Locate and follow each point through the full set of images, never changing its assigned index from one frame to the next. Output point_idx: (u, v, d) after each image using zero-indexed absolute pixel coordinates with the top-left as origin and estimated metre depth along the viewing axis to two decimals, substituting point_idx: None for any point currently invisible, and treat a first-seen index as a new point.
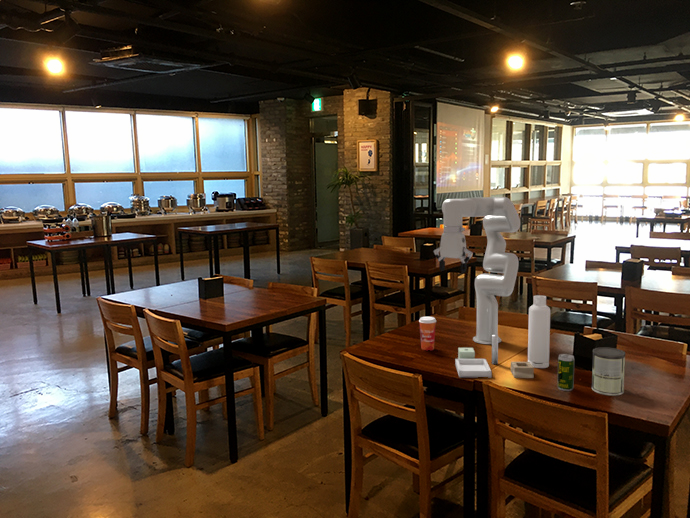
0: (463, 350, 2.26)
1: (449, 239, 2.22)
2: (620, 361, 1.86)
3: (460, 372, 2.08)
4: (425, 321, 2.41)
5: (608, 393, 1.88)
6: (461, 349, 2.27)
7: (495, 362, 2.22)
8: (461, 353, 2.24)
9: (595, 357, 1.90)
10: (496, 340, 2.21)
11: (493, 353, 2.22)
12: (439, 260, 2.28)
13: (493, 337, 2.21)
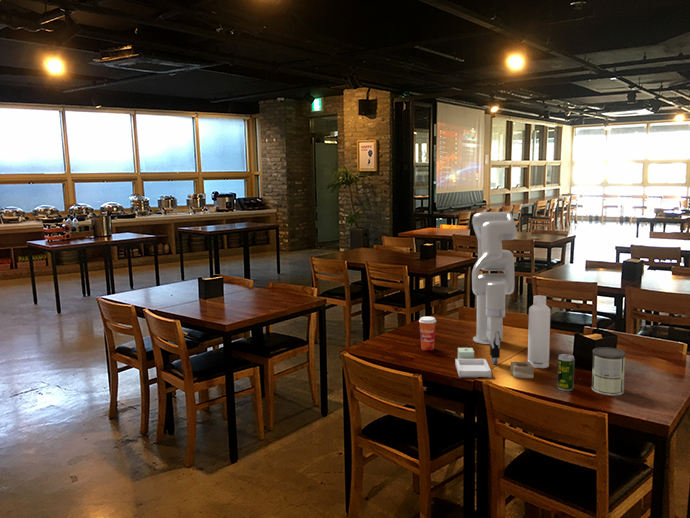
0: (462, 350, 2.26)
1: None
2: (620, 361, 1.86)
3: (460, 372, 2.08)
4: (425, 321, 2.41)
5: (608, 393, 1.88)
6: (461, 349, 2.27)
7: (495, 362, 2.22)
8: (461, 353, 2.24)
9: (595, 357, 1.90)
10: None
11: None
12: None
13: None
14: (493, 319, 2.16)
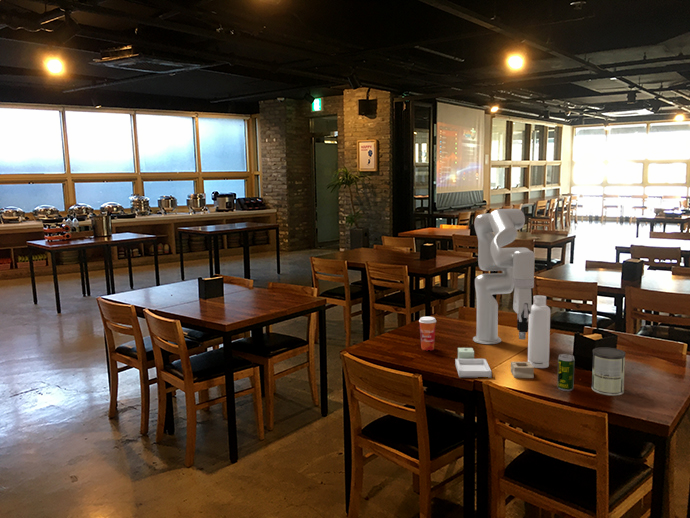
0: (462, 350, 2.26)
1: None
2: (620, 361, 1.86)
3: (460, 372, 2.08)
4: (425, 321, 2.41)
5: (608, 393, 1.88)
6: (461, 349, 2.27)
7: (523, 337, 2.07)
8: (460, 353, 2.24)
9: (595, 357, 1.90)
10: None
11: None
12: None
13: None
14: (521, 290, 2.01)
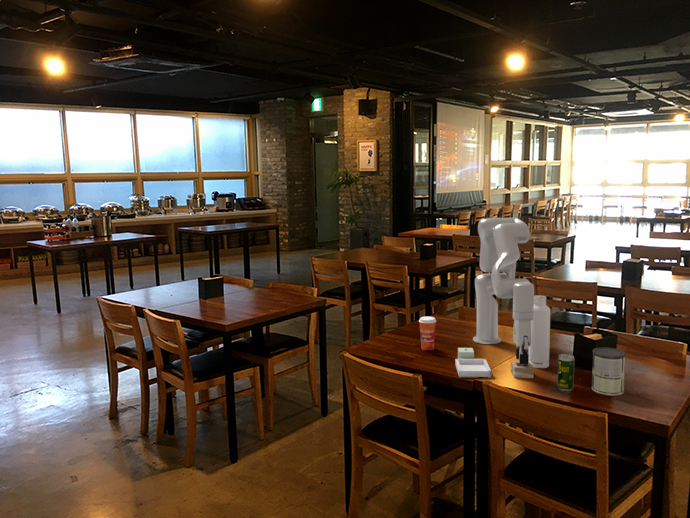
0: (462, 350, 2.26)
1: None
2: (620, 361, 1.86)
3: (460, 372, 2.08)
4: (425, 321, 2.41)
5: (608, 393, 1.88)
6: (461, 349, 2.27)
7: None
8: (460, 353, 2.24)
9: (595, 357, 1.90)
10: None
11: (520, 364, 2.08)
12: None
13: None
14: (521, 323, 2.03)
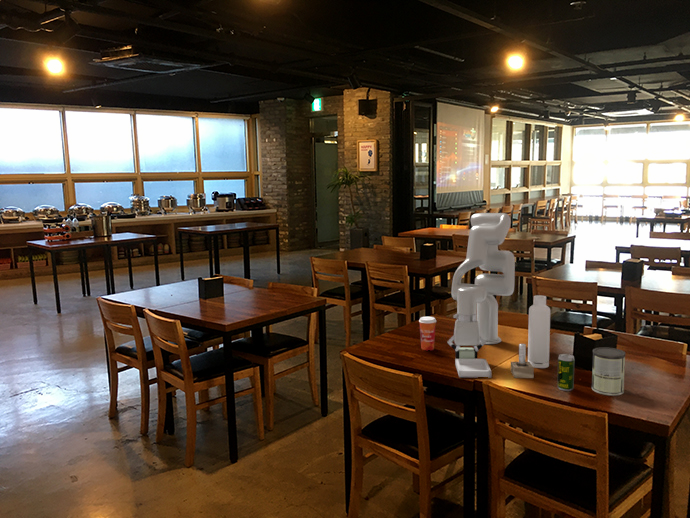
0: (463, 350, 2.26)
1: None
2: (620, 361, 1.86)
3: (460, 372, 2.08)
4: (425, 321, 2.41)
5: (608, 393, 1.88)
6: (461, 349, 2.27)
7: None
8: (461, 353, 2.24)
9: (595, 357, 1.90)
10: (524, 350, 2.07)
11: (520, 364, 2.08)
12: None
13: (520, 347, 2.07)
14: (478, 323, 2.23)
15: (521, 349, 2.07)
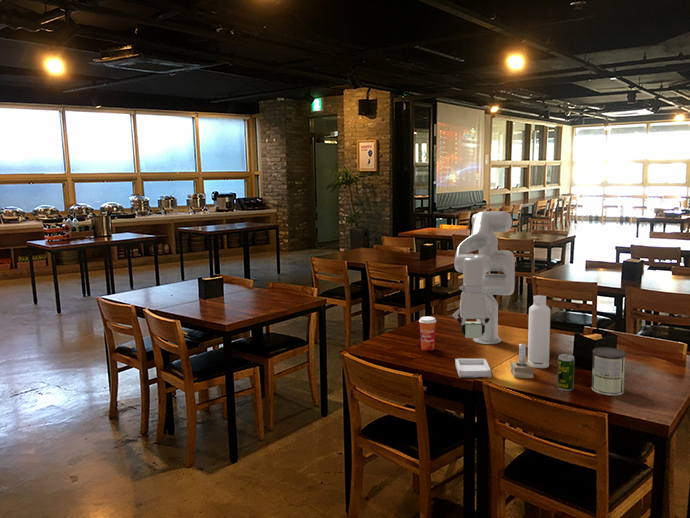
0: (469, 323, 2.12)
1: None
2: (620, 361, 1.86)
3: (460, 372, 2.08)
4: (425, 321, 2.41)
5: (608, 393, 1.88)
6: (467, 323, 2.13)
7: None
8: (467, 326, 2.10)
9: (595, 357, 1.90)
10: (524, 350, 2.07)
11: (520, 364, 2.08)
12: None
13: (520, 347, 2.07)
14: (485, 294, 2.09)
15: (521, 349, 2.07)
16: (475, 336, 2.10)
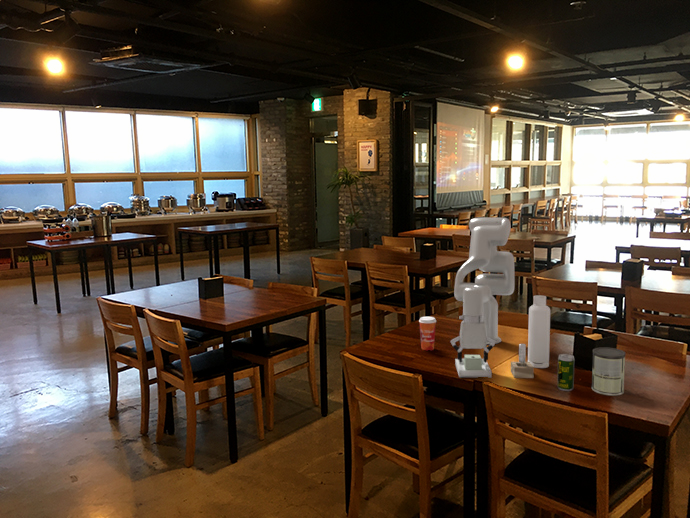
0: (469, 357, 2.14)
1: None
2: (620, 361, 1.86)
3: (460, 372, 2.08)
4: (425, 321, 2.41)
5: (608, 393, 1.88)
6: (467, 357, 2.15)
7: None
8: (467, 361, 2.12)
9: (595, 357, 1.90)
10: (524, 350, 2.07)
11: (520, 364, 2.08)
12: None
13: (520, 347, 2.07)
14: (485, 324, 2.11)
15: (521, 349, 2.07)
16: None
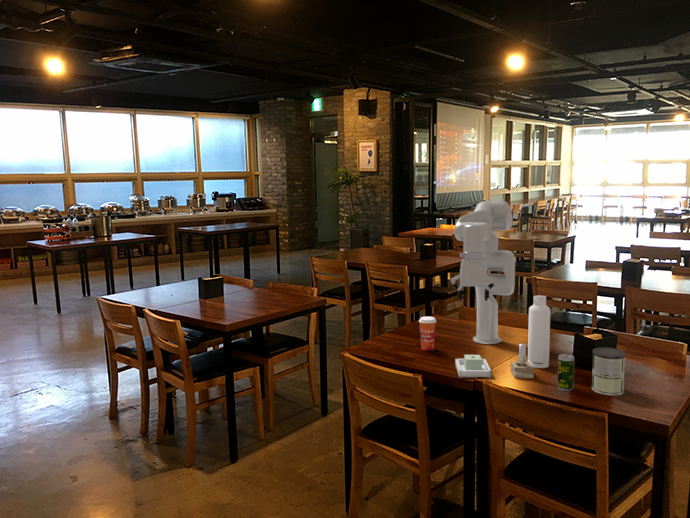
0: (469, 357, 2.14)
1: None
2: (620, 361, 1.86)
3: (460, 372, 2.08)
4: (425, 321, 2.41)
5: (608, 393, 1.88)
6: (467, 357, 2.15)
7: None
8: (467, 361, 2.12)
9: (595, 357, 1.90)
10: (524, 350, 2.07)
11: (520, 364, 2.08)
12: None
13: (520, 347, 2.07)
14: (485, 261, 2.08)
15: (521, 349, 2.07)
16: None
